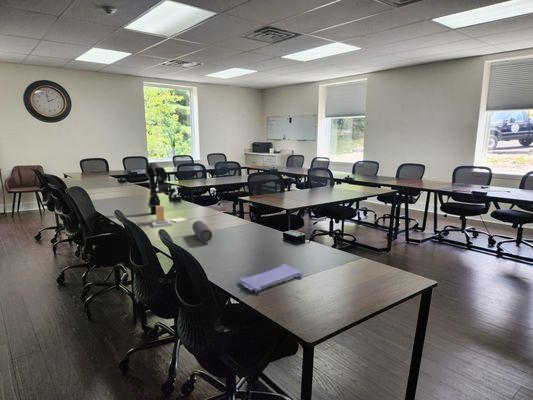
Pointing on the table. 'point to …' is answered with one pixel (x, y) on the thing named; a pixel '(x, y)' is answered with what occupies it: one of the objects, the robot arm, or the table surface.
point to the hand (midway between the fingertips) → (164, 202)
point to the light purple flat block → (269, 277)
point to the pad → (178, 219)
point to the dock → (161, 223)
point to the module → (160, 213)
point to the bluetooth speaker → (202, 231)
